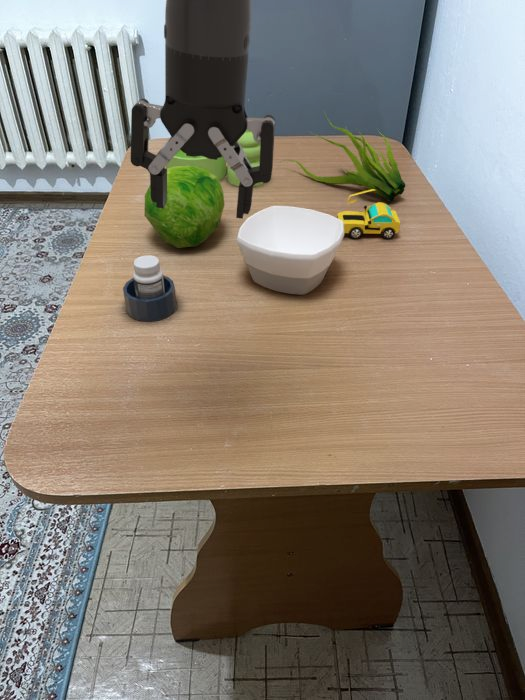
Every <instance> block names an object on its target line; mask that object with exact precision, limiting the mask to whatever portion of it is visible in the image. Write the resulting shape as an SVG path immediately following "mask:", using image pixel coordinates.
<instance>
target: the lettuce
mask: <svg viewBox="0 0 525 700" xmlns="http://www.w3.org/2000/svg"><path fill="white" fill-rule="evenodd" d="M220 181H221V180H219V179H218V178H217V177H216V176H214V175H213V174H212V173H210V172H209V171H208V170H206V169H202V168H198V167H195V166H175V167H171V168H167V203H166V205H165V207H164V209H162V208H157V206H156V202H152V199H151V192H150V189H151V188H150V185H149V186H148V188H147V190H146V192H145V194H144V217H145V219H146V220H147V221H148V222H149V224H150V225H151V227H152V228H153V229H154V230H155V231H156V232H157V234H158V235H159V236H160V238H161V239H162V241H164V242H166V243H168V244H169V245H171V246H173V247H175V248H177V249H181V248H188V247H196V248H197V247H198V246H199V245H201V244H202V243H203V242H205V241H206V240H207V239H208V238H209V237H210V236H212V234H213V232H214V231H215V230H216V228H217V227H218V225H219V224H220V222H221V219H222V215H223V211H224V208H225V197H224V196H225V195H224V190H223V187H222V184H221V182H220Z"/></svg>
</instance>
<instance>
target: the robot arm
mask: <svg viewBox="0 0 525 700" xmlns="http://www.w3.org/2000/svg"><path fill="white" fill-rule="evenodd" d="M164 10H165V12H164V15H165V16H164V25H163V38H164V42H165V43H164V47H165V48H164V50H165V51H164V53H165V54H164V56H165V58H164V59H165V60H164V61H165V62H164V65H165V68H164V70H165V72H164V74H165V75H164V77H165V79H164V81H165V84H164V85H165V89H164V90H165V91H164V92H165V93H164V94H165V96H164V97H165V98H164V102H163V105H160V104H156V103H155V104H154V103H151V102H149V101H148V99H146V98H140V99H139V100H138V101H137V102H136V103H135V104H134V105H133V106H132V107H131V121H130V122H131V123H130V127H131V128H130V130H131V131H130V163H131V164H132V165H133V166H134V167H142V168H143V169H145V170H147V172H148V173H149V182H150V184H149V186H150V188H151V189H150V192H151V199H152V202H156V206H157V208H162V209H164V207H165V205H166V203H167V169H166V164H167V163H168V162H169V161H170V160H171V159H172V158H173V157H174V155H175V154H176V153H177V152H178V151H179V150H181V151H182V152H184V153H186V156H191V157H196V156H204V157H206V158H208V159H214V160H217V159H218V158H220V157H223V158H224V159H225V161H226V165H227V167H228V166H229V167H230V168H231V169H232V170H233V171H234V172H235V174H236V175H237V177H238V179H239V180H240V184H239V186H238V189H237V191H238V192H237V201H236V202H237V204H236V215H235V216H236V217H235V218H236V219H240V220H243V219H244V216H245V215H249V213H250V212H251V209H252V203H253V192H254V187H255V186H254V185H255V184H256V183H260V182H263V184H268V183H269V182H271V180H272V175H273V174H272V173H273V165H274V149H275V147H274V146H275V134H276V133H275V131H276V119H275V117H274V116H273V115H272V114H267V115H265V116H264V117H263V118H260V117H248V115H247V113H246V108H245V107H246V106H245V103H246V102H245V101H246V90H247V78H248V66H249V53H250V43H251V28H252V0H166V1H165V9H164ZM157 119H160V121H161V123H162V124H163V126H164V127H165V129H166V131H167V132H168V134H169V135H170V137H169V138H168V140H167V141H166V142H165V143H164V145H163V146H162V147H161V148H160V149H159V150H158V152H157V153H156V154H155V153H153V152H151V151H149V139H150V138H149V137H150V128H153V126H154V125H155V124H156V121H157ZM246 130H250V131H251V132H252V134H253V138H254V140H255V141H256V142H259V143H261V145H260V166H256V167H252V166H251V164H250V162H249V161H248V159H247V157H246V155H245V152H244V150H243V148H242V147H241V145H240V144H239V142H238V140H239V139H240V138H241V136H242V135H243V134H244V133H245V132H246ZM233 146H234V147H233ZM253 186H254V187H253Z"/></svg>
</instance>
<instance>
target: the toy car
mask: <svg viewBox="0 0 525 700" xmlns="http://www.w3.org/2000/svg"><path fill="white" fill-rule="evenodd" d="M374 190H375V189H371V190H369V189H368V190H363V191H360V192H356V193H353V194H352V193H351V194H349V196H348V197H347V200H346V203H347V205H349V204H350V205H351V204H352V203H357V199H356V198H354V199H353V200H352V199H350V198H351V197H354V196H358V195H361V194H365V193H370V192H372V191H374ZM363 209H364V211H363V212H362V211H353V210H352V211H349V210H348V211H346V210H345V211H340V212H338V213H337V214H336V218H338V219H340V220H342V221H343V223H344V234H349V237H350V238H351V239H354V240H357V239H359V238H361V237H362V235H363V234H372V235H373V234H377V235H379V234H381V235H382V237H383V239H385V240H391V239H393V238H394V237H395V234H397V233H398V232H400V229H401V221H400V217H399V215H398V213H397V211H396V210H394V209H392V208H391V207H390V205H388V204H387V203H385V202H380V201H378V202H375V203H373V204H371V205H369V206H368V205H364V206H363Z"/></svg>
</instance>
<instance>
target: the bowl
mask: <svg viewBox="0 0 525 700" xmlns="http://www.w3.org/2000/svg"><path fill="white" fill-rule="evenodd" d="M344 237H345V233H344V223H343V221H342V220H340V219H338V218H337V217H335V216H333V215H331V214H328V213H326V212H323V211H318V210H316V209H315V210H314V209H311V208H304V207H299V206H298V207H297V206H290V205H289V206H288V205H271V206H268V207H266V208H264V209H261V210H259V211H256V213H254V214H252V215H251V216H249V217H247V218H246V219H245V221H244V222H243V223H242V225H241V226H240V227H239V229H238V233H237V237H236V239H235V240H236V243H237V245H238V248H239V250H240V253H241V255H242V258H243V260H244V263H245V264H246V267H247V269H248V271H249V274H250V276H251V278H252V281H253V282H254V283H256V284H258V285H259V286H261V287H263V288H266V289H269V290H272V291H274V292H277V293H285V294H288V295H290V294H291V295H300V296H303V295H307V294H308V293H310V292H312V291H313V290H315V289H316V288H317V287H318V286H319V285H321V284H322V282H323V280H324V278H325V276H326V274H327V271H328V270H329V268H330V266H331V264H332V262H333V260H334V258H335V256H336V254H337V252H338V250H339V248H340V246H341V244H342V241H343V239H344Z"/></svg>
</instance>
